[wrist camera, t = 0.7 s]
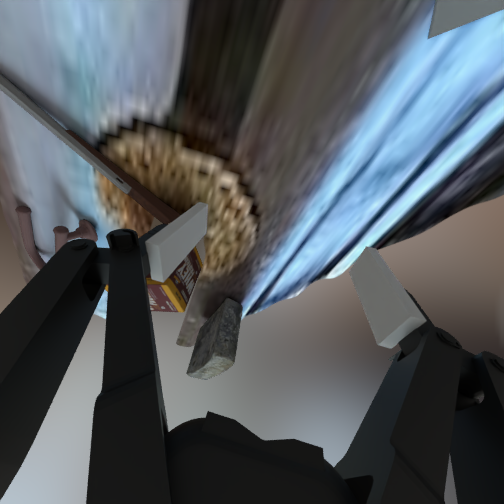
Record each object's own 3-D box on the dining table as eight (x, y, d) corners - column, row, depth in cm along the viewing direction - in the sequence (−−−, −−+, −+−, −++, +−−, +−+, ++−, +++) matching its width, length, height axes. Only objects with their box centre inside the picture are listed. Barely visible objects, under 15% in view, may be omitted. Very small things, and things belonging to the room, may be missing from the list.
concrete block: (218, 327, 80) (206, 381, 65) (200, 320, 77) (182, 375, 62) (249, 299, 64) (242, 363, 49) (227, 290, 61) (212, 354, 46)
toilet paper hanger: (7, 182, 39) (64, 240, 40) (49, 180, 45) (99, 230, 45) (22, 255, 55) (63, 296, 56) (52, 246, 61) (89, 283, 61)
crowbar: (-14, 52, 30) (-59, 44, 26) (-14, 39, 28) (-61, 28, 25) (182, 223, 45) (172, 234, 41) (186, 219, 44) (177, 229, 40)
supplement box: (203, 265, 54) (184, 313, 42) (155, 265, 56) (124, 311, 44) (193, 237, 47) (167, 285, 35) (138, 238, 49) (97, 284, 37)
